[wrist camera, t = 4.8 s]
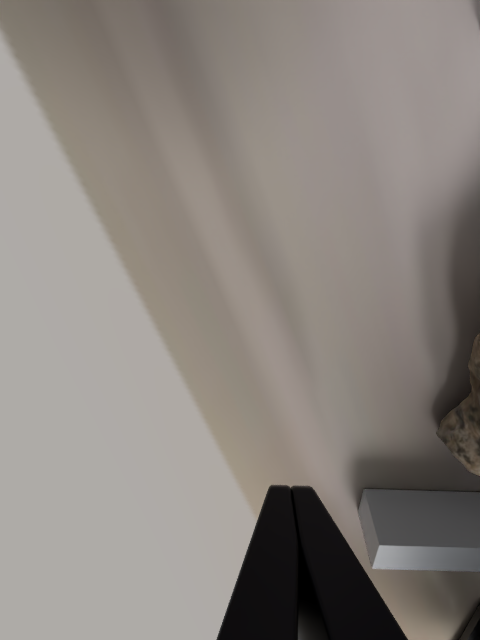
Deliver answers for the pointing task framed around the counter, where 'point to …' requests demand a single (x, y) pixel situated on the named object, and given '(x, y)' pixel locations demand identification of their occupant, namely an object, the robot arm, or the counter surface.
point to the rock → (466, 420)
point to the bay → (421, 529)
